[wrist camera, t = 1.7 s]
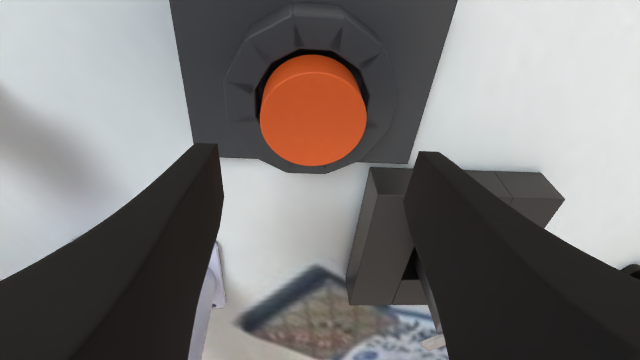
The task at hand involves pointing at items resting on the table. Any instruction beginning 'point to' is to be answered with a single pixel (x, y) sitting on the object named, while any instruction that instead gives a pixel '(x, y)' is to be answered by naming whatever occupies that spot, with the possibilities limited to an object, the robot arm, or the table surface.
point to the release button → (312, 111)
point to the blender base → (395, 239)
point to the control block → (308, 39)
